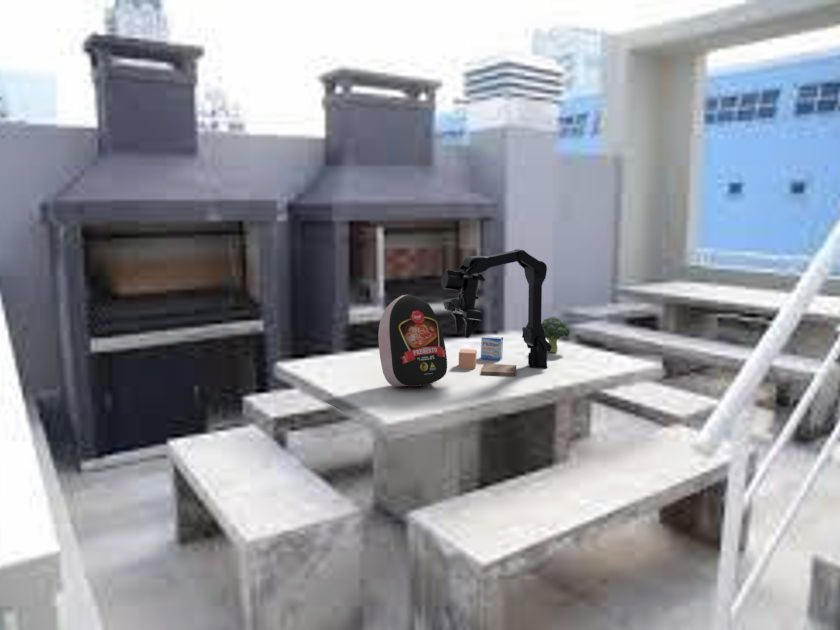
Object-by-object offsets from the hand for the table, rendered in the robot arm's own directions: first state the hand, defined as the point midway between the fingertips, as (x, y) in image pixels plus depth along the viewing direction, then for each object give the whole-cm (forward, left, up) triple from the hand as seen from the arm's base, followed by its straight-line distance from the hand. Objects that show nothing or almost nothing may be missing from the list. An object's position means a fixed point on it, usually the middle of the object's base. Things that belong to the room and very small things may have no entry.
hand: (462, 335), depth 243 cm
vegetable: (-33, -41, -14) cm, 55 cm away
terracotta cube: (-1, -10, -14) cm, 17 cm away
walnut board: (-13, -5, -14) cm, 20 cm away
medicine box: (-9, -25, -14) cm, 30 cm away
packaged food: (+15, +19, -14) cm, 28 cm away
